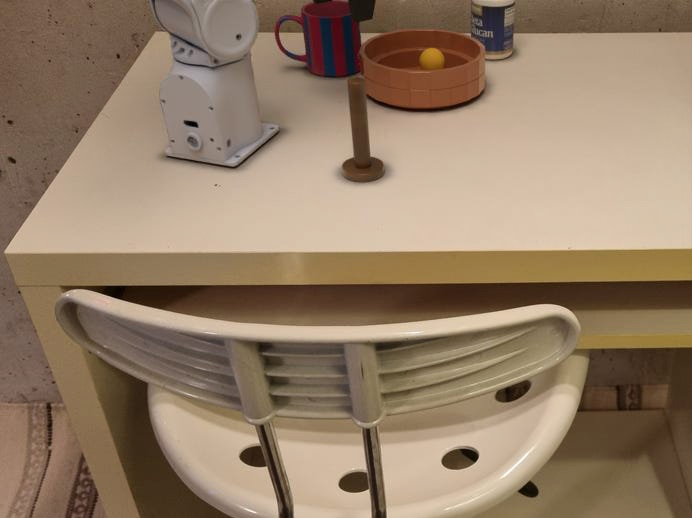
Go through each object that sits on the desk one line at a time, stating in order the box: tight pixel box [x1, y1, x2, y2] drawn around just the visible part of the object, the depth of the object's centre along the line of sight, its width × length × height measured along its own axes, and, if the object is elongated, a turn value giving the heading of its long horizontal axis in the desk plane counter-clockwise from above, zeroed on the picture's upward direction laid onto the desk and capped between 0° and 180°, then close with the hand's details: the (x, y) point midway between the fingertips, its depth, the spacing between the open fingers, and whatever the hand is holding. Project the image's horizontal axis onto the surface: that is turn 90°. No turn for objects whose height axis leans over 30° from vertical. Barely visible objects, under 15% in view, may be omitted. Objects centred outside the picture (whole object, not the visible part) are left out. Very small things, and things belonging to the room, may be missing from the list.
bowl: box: [359, 28, 486, 110], centre depth 97 cm, size 14×14×4 cm
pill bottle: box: [470, 0, 516, 61], centre depth 104 cm, size 5×5×10 cm
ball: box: [419, 48, 445, 71], centre depth 99 cm, size 3×3×3 cm
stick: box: [341, 76, 385, 183], centre depth 79 cm, size 4×4×9 cm
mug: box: [274, 0, 362, 78], centre depth 101 cm, size 7×10×7 cm
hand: (342, 10), depth 89 cm, fingers open, 7 cm apart
